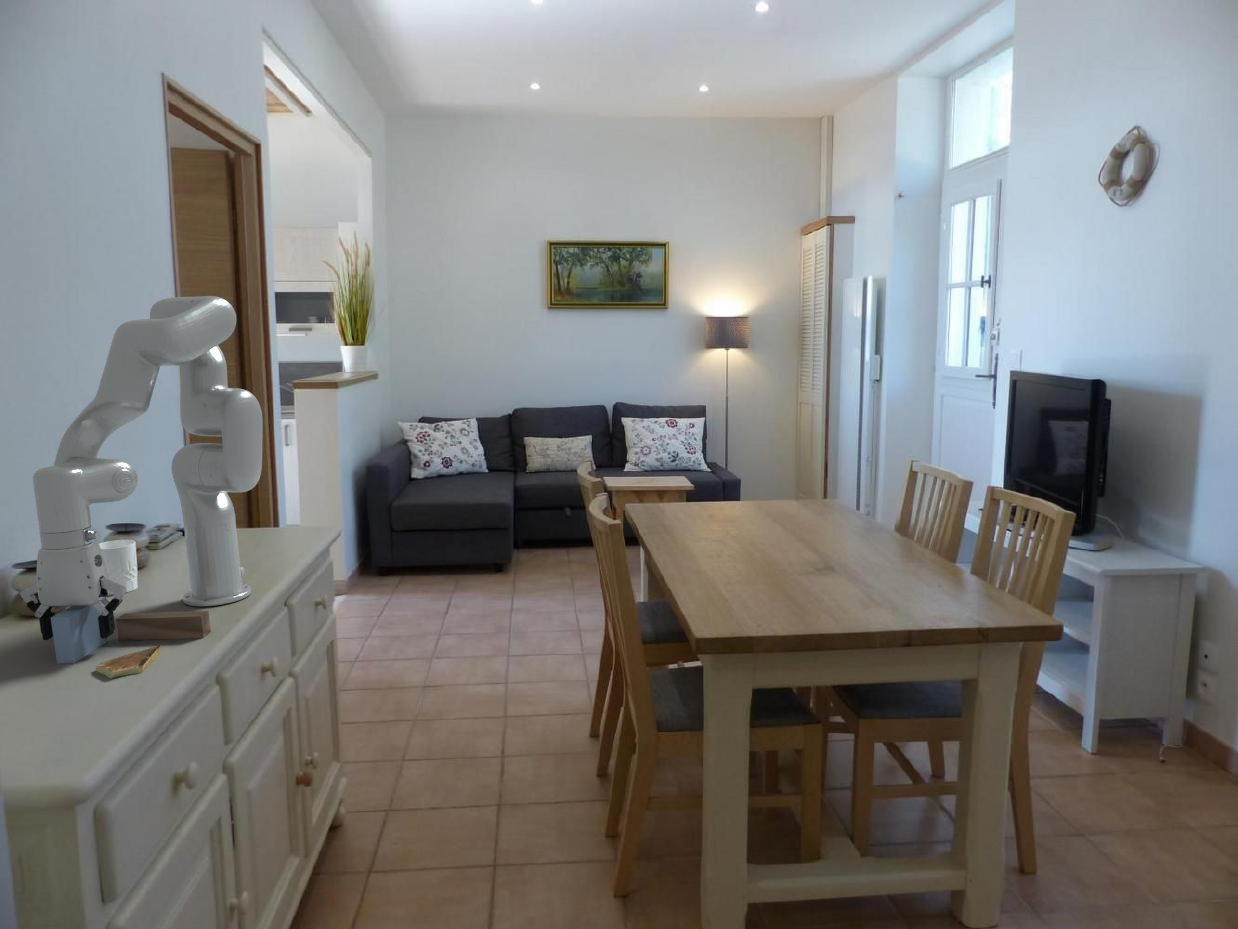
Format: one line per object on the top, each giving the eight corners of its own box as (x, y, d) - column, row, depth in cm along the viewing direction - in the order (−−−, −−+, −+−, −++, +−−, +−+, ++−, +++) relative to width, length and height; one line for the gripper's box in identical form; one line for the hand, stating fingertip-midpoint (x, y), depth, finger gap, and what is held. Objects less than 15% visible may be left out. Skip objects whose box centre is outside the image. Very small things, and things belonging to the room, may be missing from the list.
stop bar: (127, 634, 165) (124, 613, 164) (210, 631, 165) (208, 610, 164) (118, 640, 162) (115, 619, 161) (203, 637, 162) (201, 616, 161)
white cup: (103, 598, 188) (96, 551, 186) (95, 590, 194) (89, 544, 192) (145, 590, 193) (139, 544, 191) (136, 582, 199) (130, 537, 197)
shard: (162, 652, 157) (161, 642, 156) (183, 662, 152) (182, 652, 152) (95, 673, 148) (93, 662, 148) (115, 684, 144) (114, 673, 143)
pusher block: (57, 663, 152) (50, 617, 151) (90, 642, 162) (84, 598, 161) (75, 663, 152) (68, 617, 151) (107, 641, 162) (101, 598, 161)
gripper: (130, 532, 157) (140, 628, 160) (29, 535, 157) (41, 631, 160) (106, 542, 150) (118, 642, 153) (0, 546, 150) (14, 646, 152)
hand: (79, 636), depth 156 cm, fingers open, 9 cm apart
